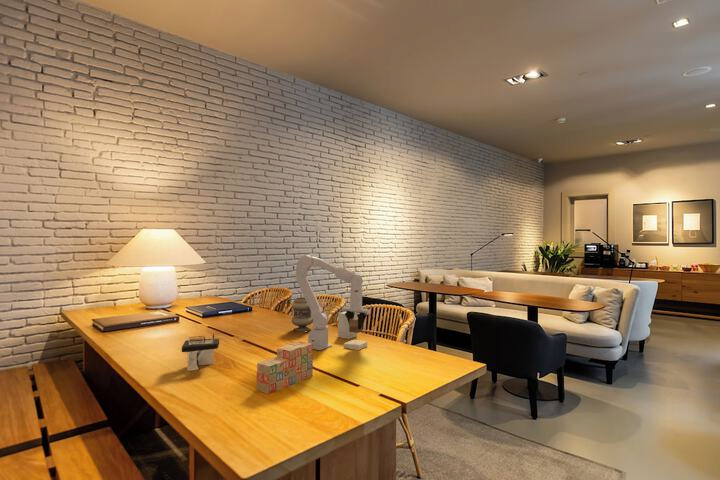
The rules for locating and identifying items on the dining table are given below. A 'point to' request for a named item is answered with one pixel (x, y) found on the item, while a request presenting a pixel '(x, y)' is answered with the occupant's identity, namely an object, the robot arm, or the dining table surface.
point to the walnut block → (354, 325)
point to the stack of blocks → (285, 367)
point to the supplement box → (345, 326)
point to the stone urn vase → (301, 315)
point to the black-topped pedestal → (199, 351)
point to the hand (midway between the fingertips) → (355, 328)
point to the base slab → (355, 344)
